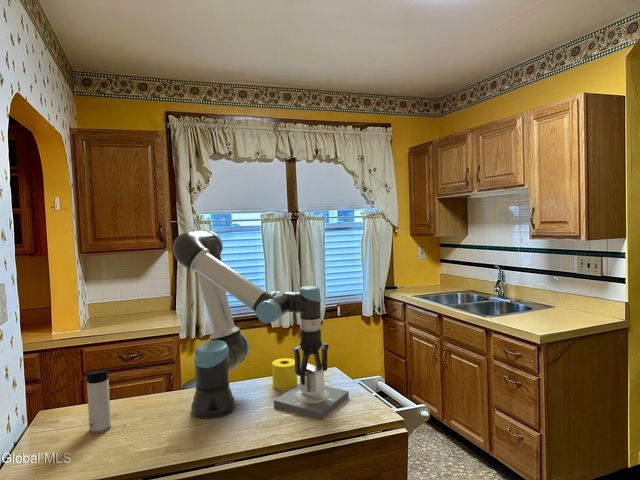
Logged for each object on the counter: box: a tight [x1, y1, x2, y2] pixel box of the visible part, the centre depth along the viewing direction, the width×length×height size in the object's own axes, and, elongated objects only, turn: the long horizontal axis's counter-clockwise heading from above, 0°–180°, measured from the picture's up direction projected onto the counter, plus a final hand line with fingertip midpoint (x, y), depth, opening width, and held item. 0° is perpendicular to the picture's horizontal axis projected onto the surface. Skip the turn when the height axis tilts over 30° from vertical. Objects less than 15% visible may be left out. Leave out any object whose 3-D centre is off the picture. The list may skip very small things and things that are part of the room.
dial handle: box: [300, 362, 325, 400], centre depth 159 cm, size 9×4×10 cm, turn 38°
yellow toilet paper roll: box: [271, 357, 298, 391], centre depth 175 cm, size 10×10×9 cm
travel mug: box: [86, 368, 112, 435], centre depth 141 cm, size 6×7×20 cm
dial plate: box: [273, 383, 350, 421], centre depth 159 cm, size 20×20×3 cm
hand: (311, 391), depth 159 cm, fingers closed on dial handle, 4 cm apart
